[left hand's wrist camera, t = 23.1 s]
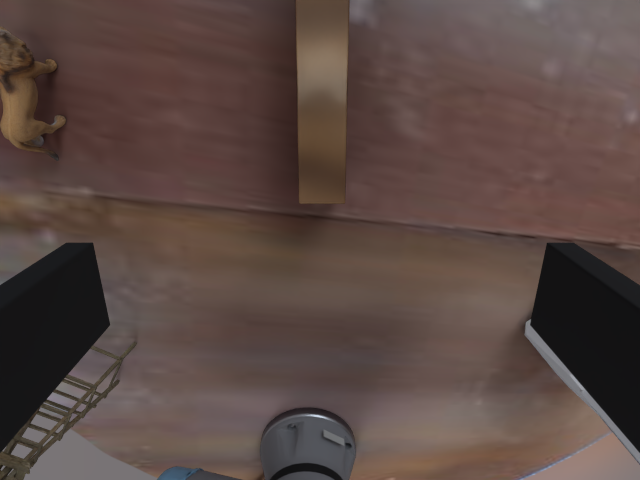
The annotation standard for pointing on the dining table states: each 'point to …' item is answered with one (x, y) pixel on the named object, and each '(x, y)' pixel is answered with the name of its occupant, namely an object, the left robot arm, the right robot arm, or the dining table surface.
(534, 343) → the electronic device
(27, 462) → the miniature windmill
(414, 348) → the dining table surface
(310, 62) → the beam
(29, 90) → the lion figurine
